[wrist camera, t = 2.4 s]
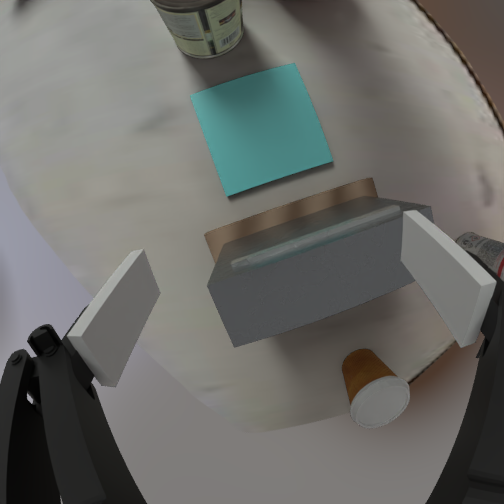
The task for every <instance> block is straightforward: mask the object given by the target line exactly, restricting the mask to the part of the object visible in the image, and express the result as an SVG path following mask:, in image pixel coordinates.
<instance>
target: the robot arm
mask: <svg viewBox="0 0 504 504" xmlns="http://www.w3.org/2000/svg"><path fill="white" fill-rule="evenodd" d="M401 262H402V263H403V264H404V265H405V267H406V268H407V269H408V271H409V272H410V273H411V275H412V276H413V277H414V279H415V280H416V282H417V283H418V284H419V286H420V287H421V288H422V290H423V291H424V293H425V294H426V295H427V297H428V298H429V300H430V301H431V303H432V304H433V306H434V307H435V308H436V310H437V311H438V313H439V314H440V316H441V317H442V319H443V320H444V322H445V324H446V325H447V327H448V328H449V330H450V331H451V333H452V334H453V336H454V338H455V339H456V341H457V342H458V344H459V345H460V347H461V348H462V347H465V346H467V345H470V344H473V343H475V342H476V340H477V338H478V335H479V333H480V330H481V332H482V333H483V334H484V336H485V339H484V340H483V343H482V345H481V347H480V350H479V352H478V354H477V356H476V358H479V362H478V367H477V372H476V376H475V380H474V384H473V388H472V392H471V396H470V399H469V403H468V406H467V409H466V413H465V415H464V418H463V421H462V424H461V427H460V430H459V433H458V435H457V438H456V441H455V444H454V446H453V448H452V451H451V453H450V456H449V458H448V460H447V462H446V465H445V467H444V469H443V471H442V474H441V475H440V478H439V480H438V482H437V484H436V486H435V488H434V489H433V491H432V493H431V495H430V497H429V499H428V500H427V502H426V503H425V504H504V281H503V280H502V279H501V278H500V277H499V276H498V275H497V274H496V273H495V272H494V271H493V270H491V269H490V268H488V266H487V265H486V264H485V263H483V261H482V260H481V259H480V258H479V257H478V256H477V255H475V254H473V253H471V252H469V251H467V250H465V251H464V250H463V249H462V248H461V247H460V246H459V245H458V244H457V243H455V242H454V241H453V240H452V239H451V238H450V237H449V236H447V235H446V234H445V233H444V232H443V231H441V230H440V229H439V228H438V227H437V226H435V225H434V224H433V223H432V222H431V221H429V220H428V219H427V218H426V217H424V216H423V215H422V214H421V213H419V212H418V211H417V210H412V211H404V212H403V233H402V251H401ZM159 295H160V291H159V288H158V286H157V283H156V281H155V278H154V275H153V273H152V270H151V267H150V265H149V262H148V259H147V256H146V254H145V251H144V249H141V250H135V251H131V252H130V254H129V255H128V256H127V257H126V258H125V260H124V261H123V262H122V263H121V264H120V266H119V267H118V268H117V269H116V271H115V272H114V273H113V274H112V276H111V277H110V278H109V279H108V281H107V282H106V283H105V285H104V286H103V287H102V288H101V290H100V291H99V292H98V294H97V295H96V296H95V298H94V299H93V300H92V302H91V303H90V304H89V305H88V306H87V307H85V308H84V310H83V311H82V312H81V314H80V315H79V317H78V318H77V319H76V320H75V323H73V325H72V326H71V327H70V329H69V330H68V332H67V333H66V335H65V336H64V337H63V339H62V340H61V339H60V338H59V336H58V335H57V333H56V332H55V330H54V329H53V327H52V326H51V325H50V324H46V325H42V326H40V327H38V328H37V329H35V330H34V331H33V332H32V333H31V334H30V336H29V338H28V340H27V342H28V343H29V345H30V346H31V348H32V349H33V351H34V352H35V354H36V355H37V357H33V358H31V357H30V355H29V354H28V352H27V351H26V350H24V349H21V350H18V351H15V352H14V353H13V354H12V355H11V356H10V358H9V359H8V361H7V363H6V367H5V369H4V373H3V376H2V380H1V383H0V504H61V499H60V496H61V498H62V502H63V504H147V503H146V501H145V499H144V498H143V496H142V494H141V492H140V491H139V489H138V487H137V485H136V483H135V481H134V479H133V478H132V476H131V474H130V472H129V470H128V468H127V466H126V464H125V461H124V459H123V457H122V455H121V453H120V451H119V449H118V447H117V444H116V442H115V440H114V437H113V435H112V432H111V430H110V427H109V425H108V422H107V420H106V417H105V414H104V412H103V409H102V406H101V403H100V401H99V398H98V395H97V392H96V389H95V387H94V386H93V384H92V383H91V382H92V380H93V378H94V377H95V378H96V379H97V380H98V382H99V383H100V384H101V386H109V387H116V386H117V384H118V381H119V379H120V377H121V374H122V372H123V370H124V368H125V366H126V363H127V361H128V359H129V357H130V355H131V353H132V350H133V348H134V346H135V344H136V342H137V340H138V338H139V336H140V333H141V331H142V329H143V327H144V325H145V323H146V321H147V319H148V317H149V315H150V313H151V311H152V309H153V307H154V305H155V303H156V301H157V299H158V297H159ZM479 356H480V357H479ZM27 393H28V394H29V395H30V396H31V398H32V399H33V404H31V403H30V402H29V401H28V400H27Z"/></svg>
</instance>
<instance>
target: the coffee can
mask: <svg viewBox="0 0 504 504" xmlns="http://www.w3.org/2000/svg"><path fill="white" fill-rule="evenodd" d="M150 1H151V2H152V3H153V4H154V6H155V7H156V9H157V11H158V12H159V14H160V16H161V18H162V19H163V21H164V23H165V24H166V26H167V28H168V30H169V31H170V33H171V35H172V37H173V38H174V40H175V43H176V45H177V47H178V48H179V49H180V50H181V51H182V52H183V53H185V54H186V55H189V56H191V57H195V58H213V57H217V56H220V55H223V54H225V53H227V52H228V51H230V50H232V49H233V48H234V47H235V46H236V45H237V44H238V43H239V41H240V40H241V38H242V35H243V30H244V28H243V18H242V0H150Z"/></svg>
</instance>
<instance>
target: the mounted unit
mask: <svg viewBox="0 0 504 504" xmlns="http://www.w3.org/2000/svg"><path fill="white" fill-rule="evenodd" d="M412 210H417V211H418V212H419V213H421V214H422V215H423V216H424V217H426V218H427V219H428V220H429V221H431V222H432V223H433V224H434V221H433V215H432V210H431V206H426V205H421V204H415V203H409V202H403V201H397V200H390V199H384V198H378V196H377V192H376V189H375V185H374V182H373V178H366V179H362V180H359V181H356V182H353V183H350V184H347V185H343V186H340V187H337V188H334V189H331V190H328V191H325V192H322V193H319V194H316V195H313V196H310V197H307V198H304V199H301V200H298V201H295V202H292V203H289V204H286V205H283V206H280V207H277V208H274V209H271V210H268V211H266V212H263V213H260V214H257V215H254V216H251V217H248V218H246V219H243V220H240V221H237V222H234V223H232V224H229V225H226V226H223V227H221V228H218V229H215V230H212V231H210V232H207V233H205V234H204V236H205V238H206V241H207V243H208V246H209V248H210V251H211V254H212V256H213V259H214V261H215V267H214V269H213V272H212V274H211V277H210V280H209V282H208V285H207V287H208V289H209V291H210V294H211V296H212V298H213V301H214V303H215V305H216V308H217V310H218V312H219V315H220V317H221V319H222V321H223V324H224V326H225V328H226V330H227V333H228V335H229V337H230V339H231V341H232V344H233V346H234V347H238V346H241V345H245V344H248V343H251V342H255V341H258V340H261V339H264V338H268V337H271V336H274V335H277V334H280V333H283V332H286V331H289V330H292V329H295V328H298V327H301V326H304V325H307V324H310V323H312V322H315V321H318V320H321V319H324V318H326V317H329V316H332V315H334V314H337V313H340V312H342V311H345V310H347V309H350V308H353V307H355V306H358V305H360V304H363V303H365V302H368V301H370V300H373V299H375V298H377V297H380V296H382V295H384V294H387V293H389V292H391V291H394V290H396V289H398V288H401V287H403V286H405V285H407V284H410V283H412V282H414V281H416V280H415V279H414V277H413V276H412V275H411V273H410V272H409V271H408V269H407V268H406V267H405V265H404V264H403V263H402V262H401V251H402V233H403V212H404V211H412Z"/></svg>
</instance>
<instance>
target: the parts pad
mask: <svg viewBox="0 0 504 504" xmlns="http://www.w3.org/2000/svg"><path fill="white" fill-rule="evenodd" d="M190 97H191V100H192V103H193V106H194V108H195V111H196V114H197V117H198V119H199V122H200V125H201V128H202V130H203V133H204V136H205V139H206V141H207V144H208V147H209V150H210V152H211V155H212V158H213V161H214V163H215V166H216V169H217V172H218V174H219V177H220V180H221V183H222V185H223V188H224V191H225V194H226V196H230V195H233V194H236V193H238V192H241V191H244V190H247V189H250V188H252V187H255V186H258V185H261V184H264V183H267V182H270V181H273V180H276V179H279V178H282V177H285V176H288V175H291V174H294V173H297V172H300V171H303V170H306V169H310V168H313V167H316V166H319V165H323V164H326V163H329V162H333V159H332V156H331V153H330V150H329V147H328V144H327V141H326V139H325V136H324V133H323V131H322V128H321V125H320V123H319V120H318V117H317V115H316V112H315V110H314V107H313V105H312V102H311V100H310V97H309V95H308V92H307V90H306V88H305V85H304V83H303V81H302V78H301V76H300V74H299V72H298V69H297V67H296V65H295V63H293V64H288V65H284V66H280V67H276V68H272V69H268V70H265V71H261V72H257V73H254V74H251V75H247V76H244V77H241V78H238V79H234V80H231V81H228V82H225V83H222V84H219V85H217V86H214V87H211V88H208V89H206V90H203V91H200V92H198V93H195V94H192V95H190Z"/></svg>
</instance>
